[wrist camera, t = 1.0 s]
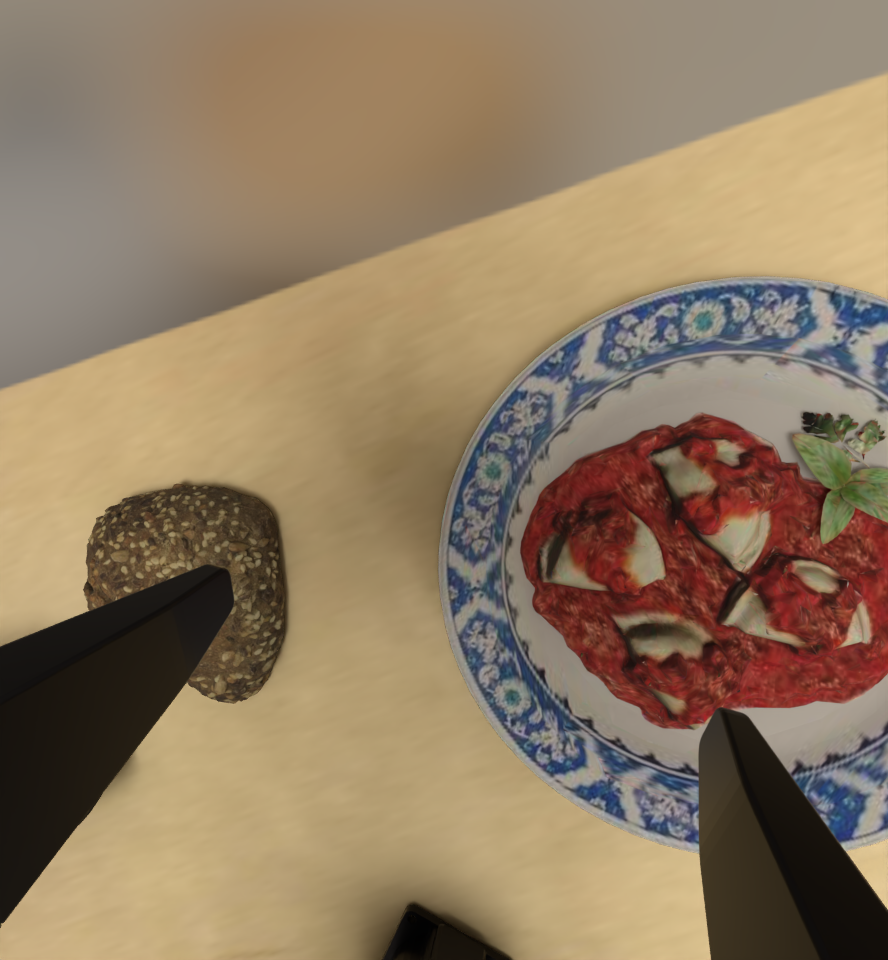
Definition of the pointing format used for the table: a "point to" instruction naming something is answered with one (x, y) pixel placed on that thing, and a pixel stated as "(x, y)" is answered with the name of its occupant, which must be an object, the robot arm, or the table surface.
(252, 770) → the table surface
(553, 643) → the ceramic plate
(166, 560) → the bread roll
